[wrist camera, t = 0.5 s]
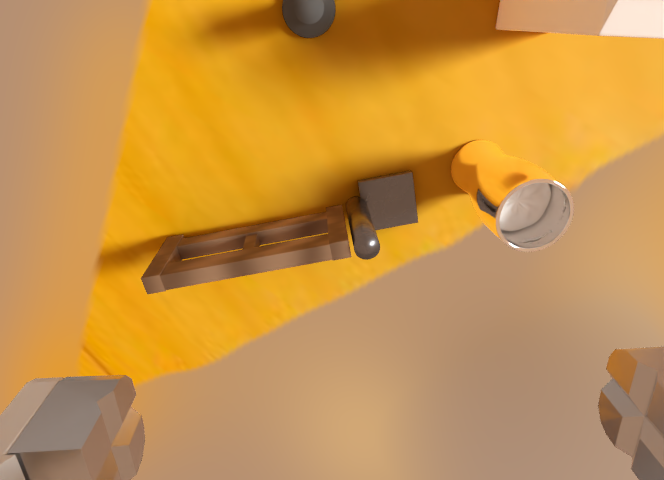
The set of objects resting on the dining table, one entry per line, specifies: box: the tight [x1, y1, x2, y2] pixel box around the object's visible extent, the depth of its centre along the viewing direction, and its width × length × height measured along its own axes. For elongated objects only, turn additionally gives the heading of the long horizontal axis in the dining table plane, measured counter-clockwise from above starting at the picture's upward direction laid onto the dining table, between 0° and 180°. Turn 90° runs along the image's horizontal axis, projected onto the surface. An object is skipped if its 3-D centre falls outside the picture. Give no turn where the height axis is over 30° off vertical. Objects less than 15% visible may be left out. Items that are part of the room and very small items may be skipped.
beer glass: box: [451, 140, 574, 252], centre depth 47 cm, size 7×7×15 cm
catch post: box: [282, 0, 335, 38], centre depth 42 cm, size 5×5×9 cm
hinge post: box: [346, 171, 418, 259], centre depth 50 cm, size 6×8×11 cm
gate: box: [141, 205, 351, 294], centre depth 50 cm, size 20×3×10 cm, turn 100°
